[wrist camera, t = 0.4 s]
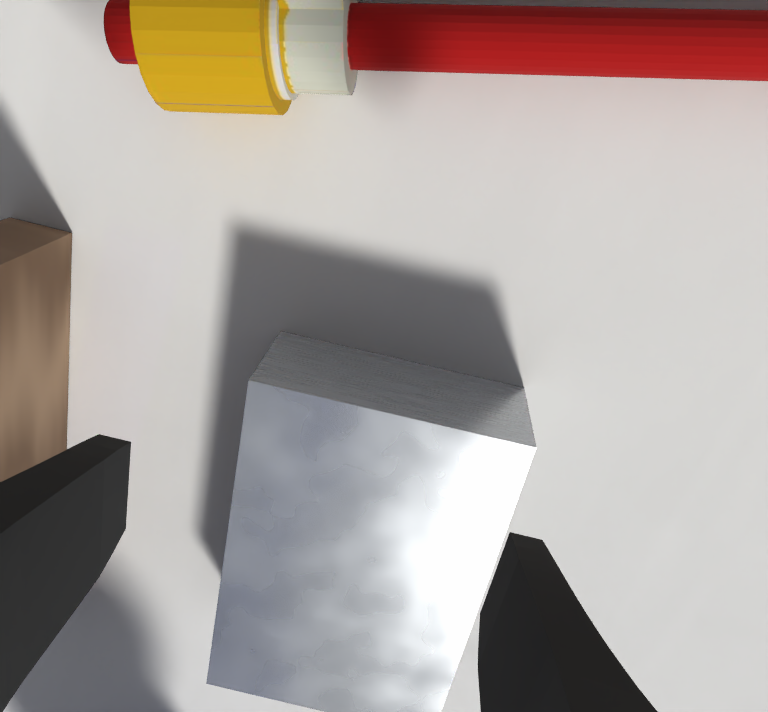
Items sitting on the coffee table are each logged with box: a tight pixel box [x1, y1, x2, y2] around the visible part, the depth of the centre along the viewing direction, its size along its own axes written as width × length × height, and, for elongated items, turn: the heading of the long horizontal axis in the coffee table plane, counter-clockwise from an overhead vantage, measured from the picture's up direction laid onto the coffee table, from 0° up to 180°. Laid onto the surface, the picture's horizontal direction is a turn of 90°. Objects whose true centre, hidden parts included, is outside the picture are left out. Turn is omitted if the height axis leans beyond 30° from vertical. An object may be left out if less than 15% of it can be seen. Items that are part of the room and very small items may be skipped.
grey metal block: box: [206, 331, 536, 712], centre depth 22 cm, size 12×8×4 cm, turn 168°
